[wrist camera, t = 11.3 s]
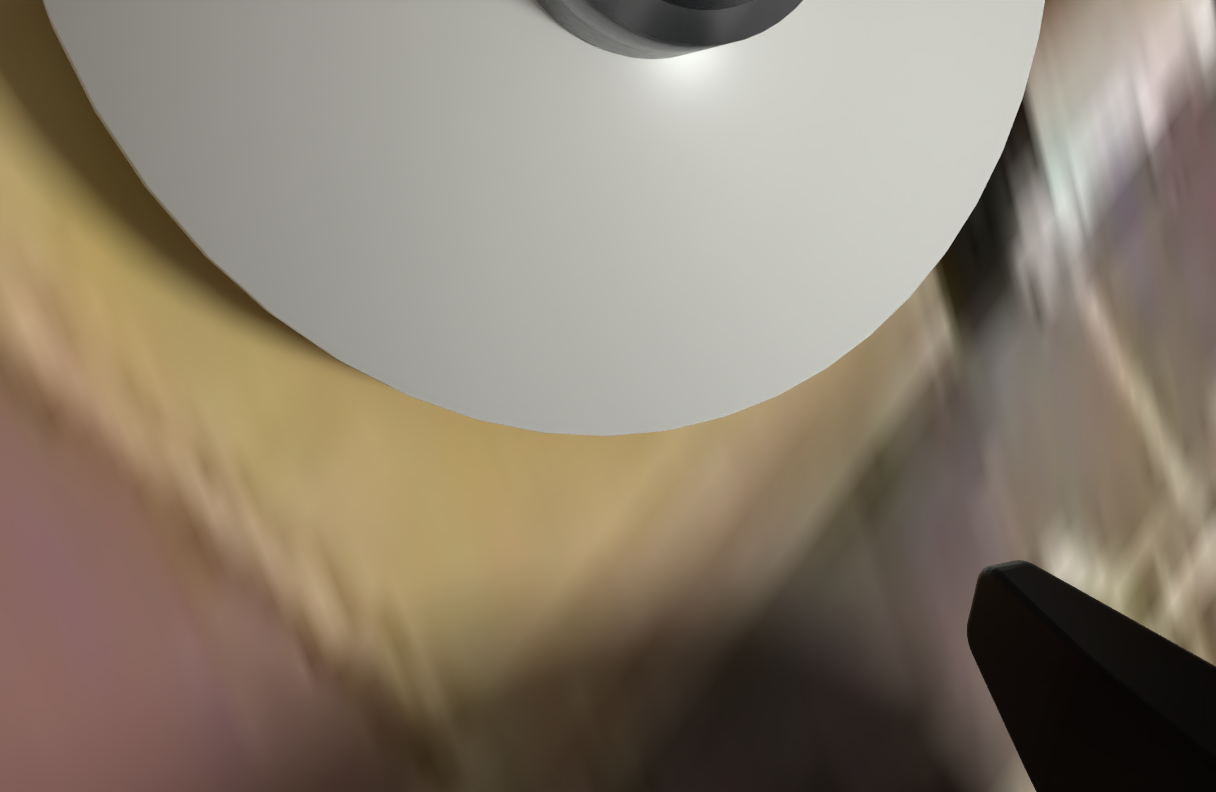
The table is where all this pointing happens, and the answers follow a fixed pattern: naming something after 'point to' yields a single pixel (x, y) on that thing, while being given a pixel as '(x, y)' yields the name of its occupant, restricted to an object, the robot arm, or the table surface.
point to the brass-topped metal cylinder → (666, 23)
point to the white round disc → (561, 185)
